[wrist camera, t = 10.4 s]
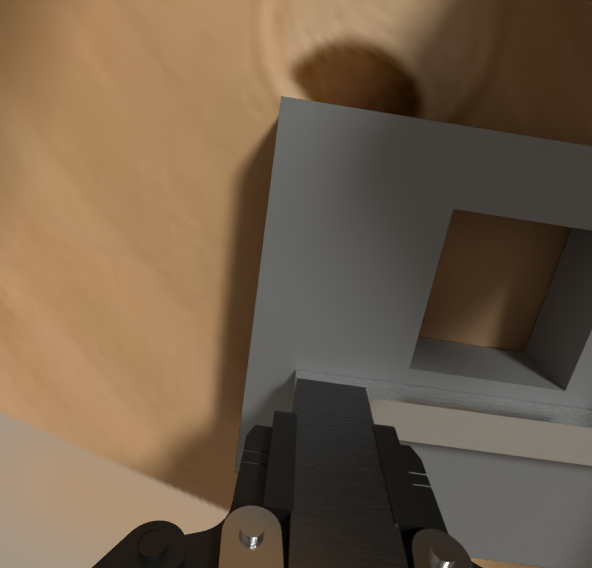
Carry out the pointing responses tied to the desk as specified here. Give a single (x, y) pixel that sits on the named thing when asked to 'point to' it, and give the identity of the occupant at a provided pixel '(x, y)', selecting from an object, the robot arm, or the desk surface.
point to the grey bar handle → (367, 466)
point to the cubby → (414, 297)
